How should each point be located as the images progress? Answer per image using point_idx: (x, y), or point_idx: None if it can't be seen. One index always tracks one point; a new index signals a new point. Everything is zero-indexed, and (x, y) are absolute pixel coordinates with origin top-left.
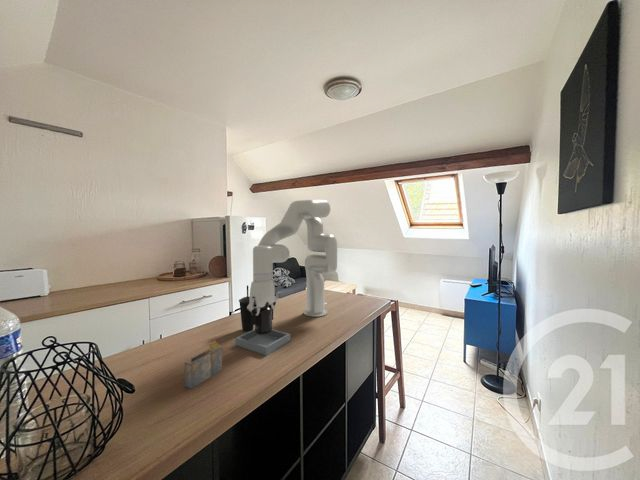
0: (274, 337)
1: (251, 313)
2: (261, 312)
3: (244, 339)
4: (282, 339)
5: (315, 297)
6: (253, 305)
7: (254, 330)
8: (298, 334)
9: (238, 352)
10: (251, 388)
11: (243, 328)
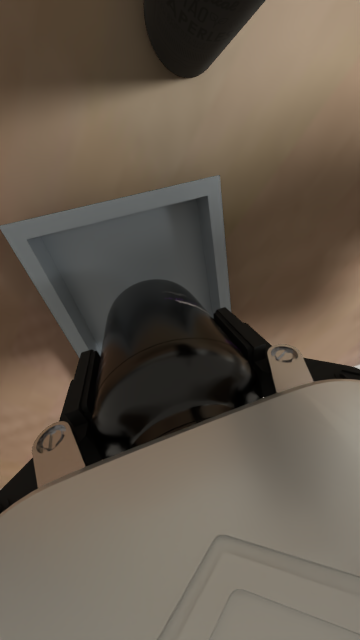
0: (204, 291)
1: (25, 467)
2: None
3: (49, 286)
4: None
5: None
6: (71, 484)
7: (153, 207)
8: (277, 312)
9: (17, 303)
10: (6, 473)
11: (145, 2)
